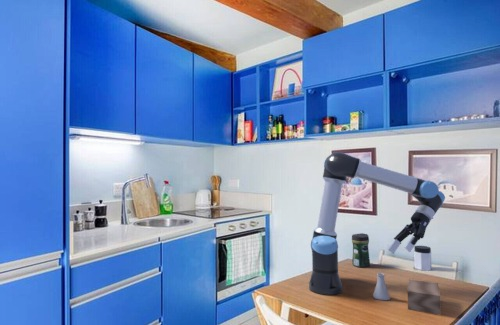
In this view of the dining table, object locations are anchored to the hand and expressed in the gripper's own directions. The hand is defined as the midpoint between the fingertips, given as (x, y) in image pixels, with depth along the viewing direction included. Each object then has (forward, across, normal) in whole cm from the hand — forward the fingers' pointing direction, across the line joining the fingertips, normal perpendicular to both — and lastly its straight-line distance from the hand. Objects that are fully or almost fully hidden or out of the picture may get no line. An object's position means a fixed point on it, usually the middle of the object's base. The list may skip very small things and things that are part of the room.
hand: (398, 250), depth 143 cm
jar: (-17, +36, -30) cm, 50 cm away
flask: (+22, 0, -5) cm, 23 cm away
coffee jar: (+3, +46, -5) cm, 46 cm away
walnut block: (+15, -9, -16) cm, 24 cm away
